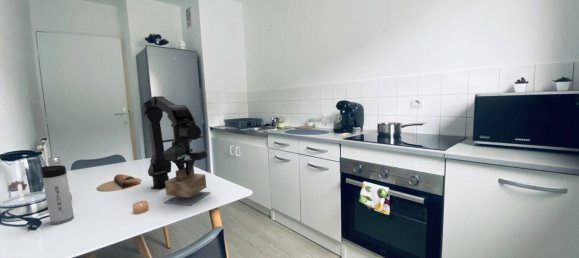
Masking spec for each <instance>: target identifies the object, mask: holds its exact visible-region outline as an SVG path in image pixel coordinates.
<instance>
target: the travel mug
mask: <svg viewBox="0 0 579 258" xmlns="http://www.w3.org/2000/svg"><path fill="white" fill-rule="evenodd" d="M65 167H66V166H65V165H64V166H61V165H56V166H49V165H45V166H41V167H40V171H41V175H42V177H41V178H42V181H43V182H42V183H43V189H44V193H45V199H46V204H47V209H48V216H49V221H50V224H51V225H54V224H55V225H61V224H64V222H65V223H67V221H68V222H69V221H71V220H73V219H74V218H75V215H74V210H73V209H74V208H73V203H72V202H73V201H71V196H72V195H71V196H70V193H71V192H70V186H69V179H68V172H67V173H66V169H67V167H66V168H65ZM60 223H61V224H60Z"/></svg>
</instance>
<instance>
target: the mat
mask: <svg viewBox="0 0 579 258" xmlns="http://www.w3.org/2000/svg"><path fill="white" fill-rule="evenodd" d="M210 194H211V191H203V190H201V191H199V192H198V193H196V194H194V195H193V196H191V197H179V196H171V197H170V198H169V199H167V200H165V201H163V204H169V205H178V206H179V205H180V206H190V207H191V206H193V205H194V204H196V203H197V202H199V201H201V200H203V199H204V198H205V197H207V196H208V195H210Z"/></svg>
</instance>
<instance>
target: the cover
mask: <svg viewBox="0 0 579 258" xmlns="http://www.w3.org/2000/svg"><path fill="white" fill-rule="evenodd" d="M204 189H207V179H206V174H205V173H195V167H194V165H193V167H192V170H191V173H190V175H189V176H187V173H186V166H185V167H184V168H182V169H177V170H175V176H174V177H172V178H169V180H167V181H165V195H166V196H167V197H168V196H170V197H174V196H179V197H191V196H193V195H194V194H196V193H198V192H199V191H203V190H204Z"/></svg>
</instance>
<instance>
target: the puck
mask: <svg viewBox="0 0 579 258" xmlns="http://www.w3.org/2000/svg"><path fill="white" fill-rule="evenodd" d="M131 206H132V211H133V214H134V215H140V214H143V213H146V212H148V211H149V202H148V201H147V200H141V201H136V202H134V203H133V204H132V205H131Z"/></svg>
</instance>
